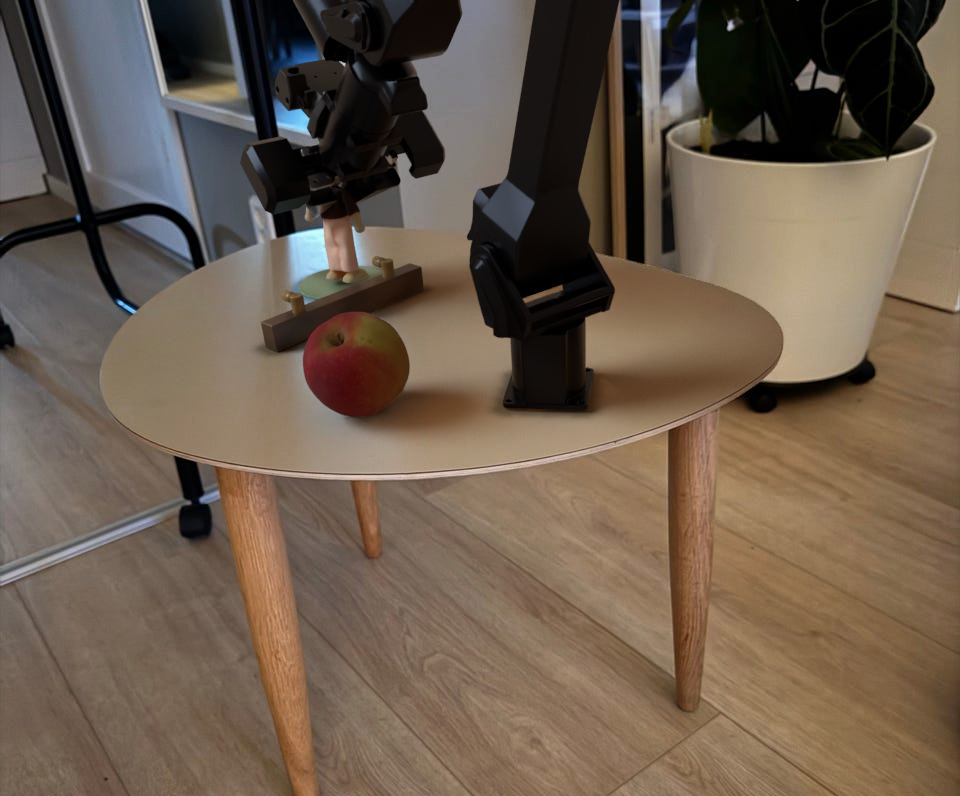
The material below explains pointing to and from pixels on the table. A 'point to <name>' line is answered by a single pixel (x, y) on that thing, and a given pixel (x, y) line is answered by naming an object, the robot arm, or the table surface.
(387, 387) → the apple
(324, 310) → the hook rail
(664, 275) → the table surface
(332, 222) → the grandmother figurine
